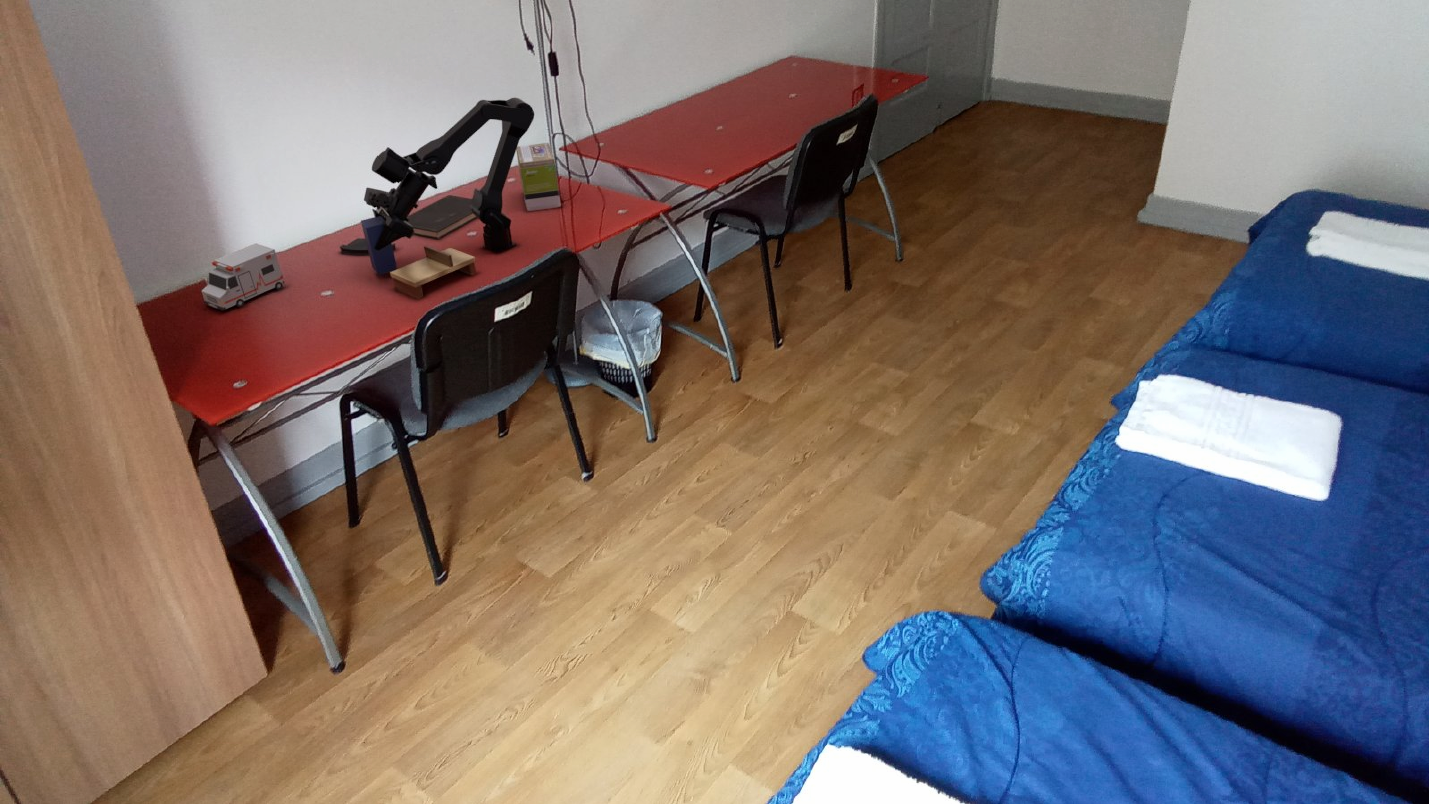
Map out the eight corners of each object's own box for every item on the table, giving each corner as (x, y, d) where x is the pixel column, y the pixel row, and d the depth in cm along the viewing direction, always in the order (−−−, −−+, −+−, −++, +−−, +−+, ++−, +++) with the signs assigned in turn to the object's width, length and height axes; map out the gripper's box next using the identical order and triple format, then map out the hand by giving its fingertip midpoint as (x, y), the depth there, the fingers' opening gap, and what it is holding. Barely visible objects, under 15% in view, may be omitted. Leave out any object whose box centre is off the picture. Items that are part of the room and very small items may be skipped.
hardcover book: (491, 209, 283) (490, 202, 282) (438, 239, 266) (437, 231, 265) (448, 201, 290) (447, 194, 289) (393, 230, 273) (391, 222, 272)
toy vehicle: (203, 306, 237) (189, 268, 232) (265, 278, 249) (254, 242, 244) (226, 315, 233) (213, 276, 227) (289, 287, 244) (277, 249, 239)
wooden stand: (453, 263, 253) (448, 236, 249) (478, 273, 247) (473, 245, 243) (393, 289, 241) (387, 260, 237) (418, 300, 236) (412, 271, 232)
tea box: (522, 194, 293) (515, 145, 285) (556, 190, 295) (549, 141, 287) (526, 212, 281) (519, 161, 273) (561, 207, 283) (555, 157, 275)
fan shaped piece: (382, 258, 257) (381, 253, 256) (339, 253, 261) (338, 247, 260) (401, 246, 264) (400, 240, 263) (358, 240, 268) (357, 235, 267)
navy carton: (391, 262, 251) (381, 216, 244) (397, 270, 247) (386, 223, 240) (372, 267, 249) (360, 220, 242) (377, 275, 245) (366, 227, 238)
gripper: (370, 164, 244) (335, 217, 245) (389, 186, 230) (353, 242, 231) (408, 188, 251) (374, 239, 253) (429, 211, 237) (393, 264, 239)
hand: (373, 245), depth 244 cm, fingers closed on navy carton, 5 cm apart
